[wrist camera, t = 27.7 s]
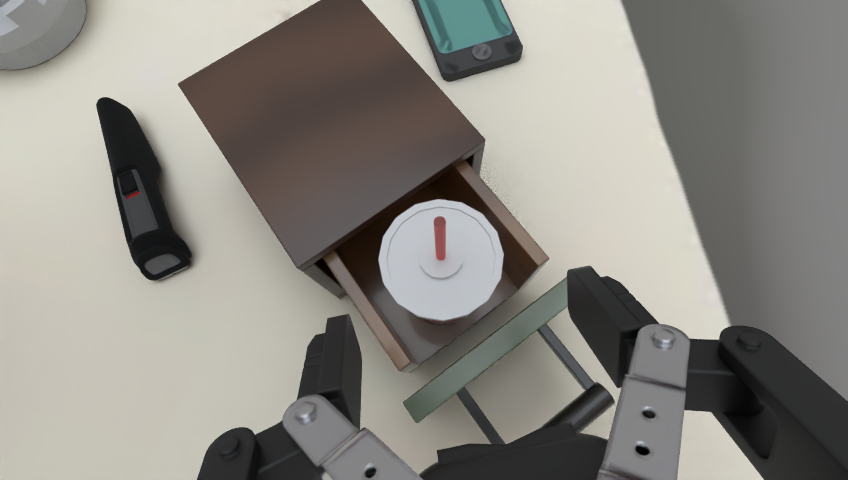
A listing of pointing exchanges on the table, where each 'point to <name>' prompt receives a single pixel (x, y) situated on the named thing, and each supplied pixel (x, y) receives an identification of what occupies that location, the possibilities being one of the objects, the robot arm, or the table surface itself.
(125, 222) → the electric trimmer
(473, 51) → the smartphone
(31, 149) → the table surface
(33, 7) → the flag stand
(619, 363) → the robot arm
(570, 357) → the drawer
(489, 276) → the beverage cup
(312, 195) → the cabinet
